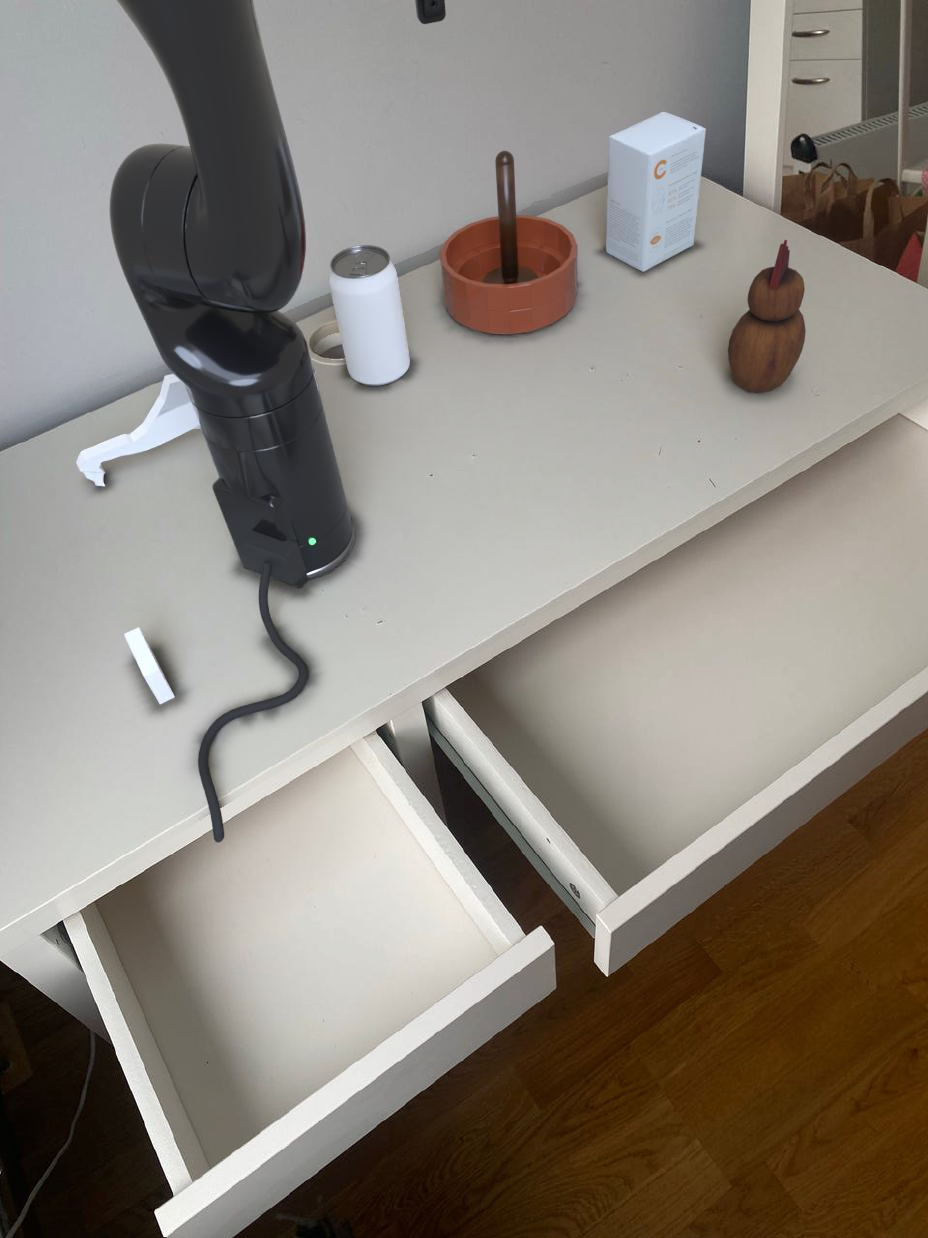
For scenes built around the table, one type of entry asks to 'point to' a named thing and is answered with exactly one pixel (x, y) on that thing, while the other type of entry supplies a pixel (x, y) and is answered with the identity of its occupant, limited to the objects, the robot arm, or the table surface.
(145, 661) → the eraser
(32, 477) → the table surface
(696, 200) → the small box
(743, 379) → the wooden figurine
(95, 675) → the table surface
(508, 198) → the brown post on disc
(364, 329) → the can
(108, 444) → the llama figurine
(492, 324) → the bowl
